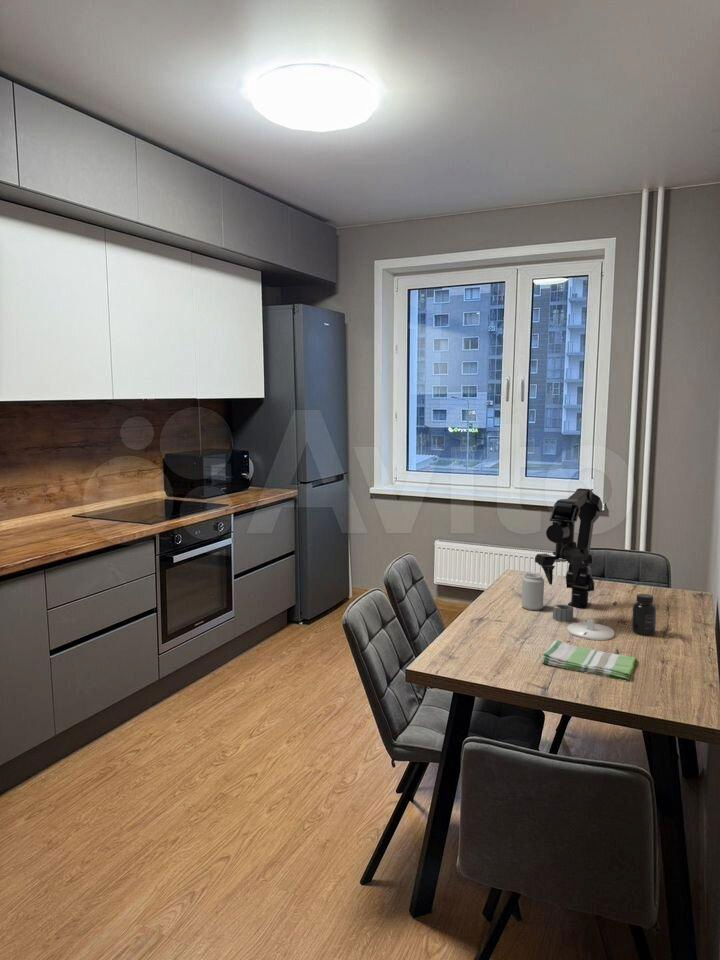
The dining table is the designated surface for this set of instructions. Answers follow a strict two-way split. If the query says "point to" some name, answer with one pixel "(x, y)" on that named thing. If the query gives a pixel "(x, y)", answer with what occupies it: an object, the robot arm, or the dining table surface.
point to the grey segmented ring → (562, 612)
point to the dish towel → (589, 661)
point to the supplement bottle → (644, 615)
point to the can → (532, 591)
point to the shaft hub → (590, 630)
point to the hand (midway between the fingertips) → (562, 583)
